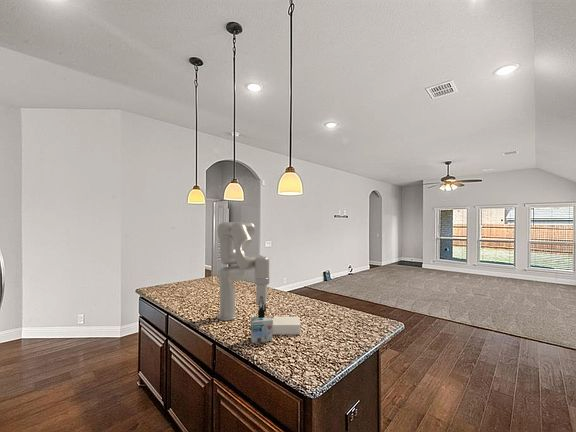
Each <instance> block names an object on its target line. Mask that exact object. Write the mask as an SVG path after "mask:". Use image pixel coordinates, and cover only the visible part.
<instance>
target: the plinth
mask: <svg viewBox="0 0 576 432" xmlns="http://www.w3.org/2000/svg"><path fill="white" fill-rule="evenodd" d="M300 319H301V318H300V316H273V319H272V320H273V329H272V335H301V320H300Z"/></svg>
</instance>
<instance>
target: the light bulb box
mask: <svg viewBox="0 0 576 432" xmlns="http://www.w3.org/2000/svg"><path fill="white" fill-rule="evenodd" d="M250 340H251V344H257V343H258V344H259V343H267V342H269V341H270V342H273V319H272V316H271V315H268V316H267V315H265V318H258V316H256V317H253V316H252V317H250Z"/></svg>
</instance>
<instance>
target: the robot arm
mask: <svg viewBox="0 0 576 432" xmlns="http://www.w3.org/2000/svg"><path fill="white" fill-rule="evenodd" d="M216 232H217V233H216V234H217V236H218V237H217V238H218V241H219V246H220V247H219V250H220V251H219V253H220V254H219V256H220V257H219V258H220V263H221V264H222V265H225V267H221V268H220V269H219V271H218V280H219V313H218V314H217V317H216V318H217V320H219V321H231V320H234V319H237V318H238V316H239V315H238V313H237V312H236V287H235V285H234V284H233V282H239V281H243V280H245V279H246V276H247V271H253V270H254V285H256V287H255V288H256V289H255V295H256V296H255V302H256V303H255V305H256V306H258V309H257V317H258V318H265V316H266V312H267V300H268V299H267V298H268V285H270V258H269V257H267V256H263V255H261V254H254V255H246V253H245V251H244V250H246V249H248V248H249V247H250V246H251V245H252V243H253V239H252V236H254V235H255V232H256V227H255V224H254V223H252V222H251V221H235V222H234V221H228V222H227V221H226V222H221V223H219V224H218V226H217V231H216ZM231 236H233V238H234V239H232V237H231ZM234 240H235V243H236V244H237V246H236V247H235V248H234V246H235V243H234ZM226 265H227V266H226ZM229 265H230V266H229ZM231 265H232V266H231Z"/></svg>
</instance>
